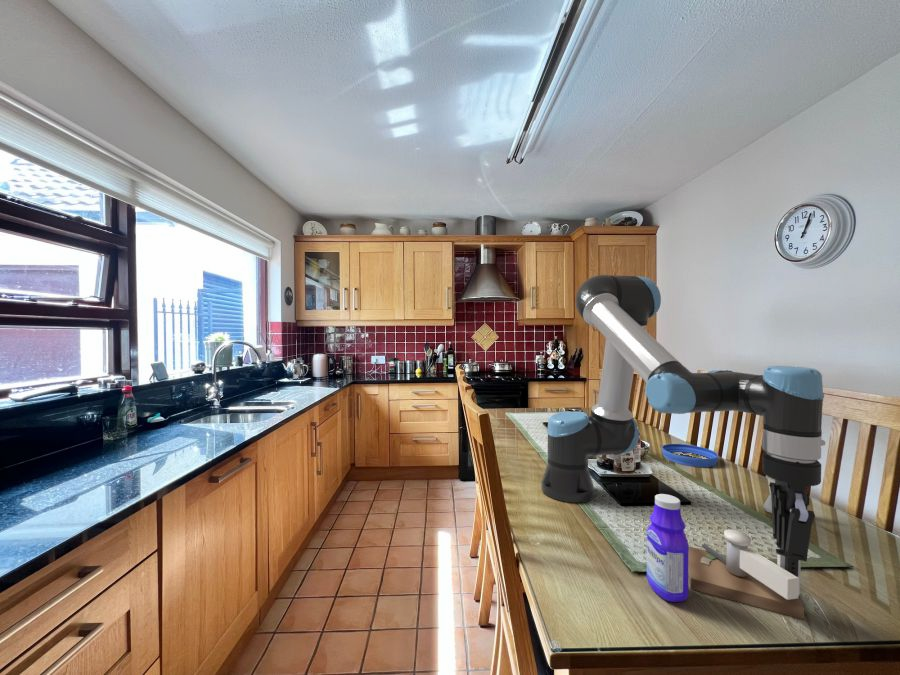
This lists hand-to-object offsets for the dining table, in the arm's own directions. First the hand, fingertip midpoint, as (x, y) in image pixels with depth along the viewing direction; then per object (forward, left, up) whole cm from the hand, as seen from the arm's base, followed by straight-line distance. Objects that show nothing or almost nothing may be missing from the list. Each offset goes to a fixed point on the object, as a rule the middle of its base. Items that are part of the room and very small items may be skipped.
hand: (788, 590), depth 65 cm
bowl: (-7, +82, -4) cm, 82 cm away
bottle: (-19, -5, -3) cm, 20 cm away
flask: (+10, +44, -3) cm, 45 cm away
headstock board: (-7, +4, -3) cm, 8 cm away
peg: (-6, +3, -1) cm, 7 cm away
